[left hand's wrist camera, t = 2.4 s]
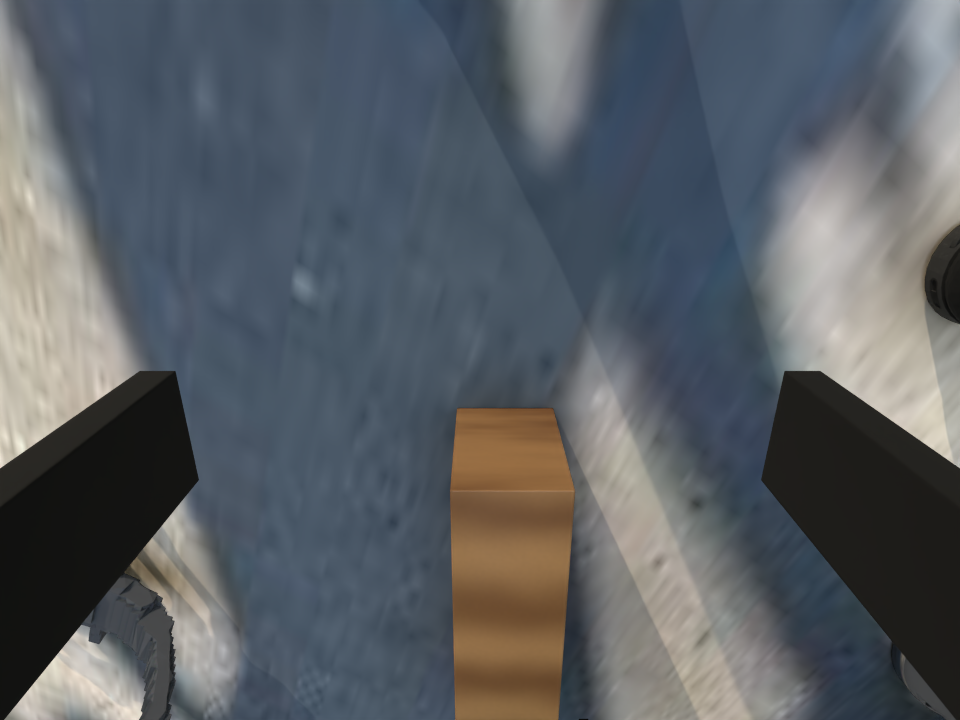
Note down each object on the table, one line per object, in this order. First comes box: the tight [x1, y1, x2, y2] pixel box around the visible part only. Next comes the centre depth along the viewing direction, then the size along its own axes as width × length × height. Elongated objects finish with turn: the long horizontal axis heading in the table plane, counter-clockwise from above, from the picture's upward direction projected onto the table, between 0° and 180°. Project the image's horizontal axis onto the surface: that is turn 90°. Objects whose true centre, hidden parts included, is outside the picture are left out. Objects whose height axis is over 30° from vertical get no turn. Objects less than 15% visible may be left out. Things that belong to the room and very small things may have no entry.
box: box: [450, 408, 575, 720], centre depth 44 cm, size 30×7×11 cm, turn 0°
